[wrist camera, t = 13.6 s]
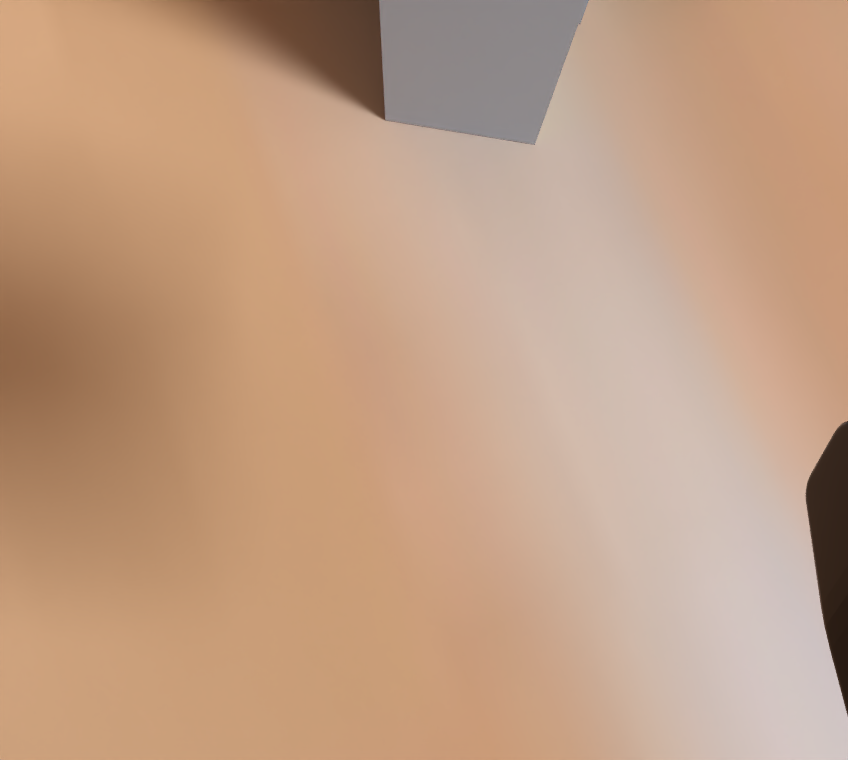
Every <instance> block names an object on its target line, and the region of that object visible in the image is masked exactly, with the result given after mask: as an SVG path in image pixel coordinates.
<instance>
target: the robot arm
mask: <svg viewBox="0 0 848 760" xmlns="http://www.w3.org/2000/svg"><path fill="white" fill-rule="evenodd" d="M806 504H807V511H808V518H809V525H810V532H811V539H812V546H813V553H814V560H815V567H816V574H817V581H818V588H819V595H820V602H821V609H822V614H823V620H824V625H825V630H826V634H827V638H828V642H829V647H830V651H831V654H832V658H833V662H834V666H835V670H836V673H837V677H838V681H839V685H840V688H841V692H842V696H843V700H844V704H845V707H846V711H847V715H848V421H847V422H844V423H842V424H841V425H840V426H839V427H838V428H837V430H836V431H835V433H834V434H833V436H832V438H831V440H830V441H829V443H828V445H827V447H826V448H825V450H824V452H823V454H822V455H821V457H820V459H819V461H818V462H817V464H816V466H815V468H814V470H813V471H812V473H811V475H810V477H809V480H808V483H807V488H806Z"/></svg>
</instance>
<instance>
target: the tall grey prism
mask: <svg viewBox="0 0 848 760" xmlns="http://www.w3.org/2000/svg"><path fill="white" fill-rule="evenodd" d="M588 1H589V0H379V7H380V27H381V46H382V65H383V85H384V104H385V120H388V121H394V122H400V123H406V124H412V125H418V126H424V127H430V128H436V129H442V130H448V131H455V132H461V133H467V134H473V135H479V136H485V137H491V138H497V139H503V140H509V141H516V142H522V143H528V144H534V145H535V142H536V139H537V137H538V134H539V131H540V128H541V126H542V123H543V120H544V117H545V115H546V112H547V109H548V106H549V103H550V101H551V98H552V95H553V92H554V90H555V87H556V84H557V81H558V78H559V76H560V73H561V70H562V67H563V65H564V62H565V59H566V56H567V54H568V51H569V48H570V45H571V42H572V40H573V37H574V34H575V31H576V29H577V26H578V24H580V22H581V20H582V17H583V14H584V11H585V9H586V6H587V3H588Z"/></svg>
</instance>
